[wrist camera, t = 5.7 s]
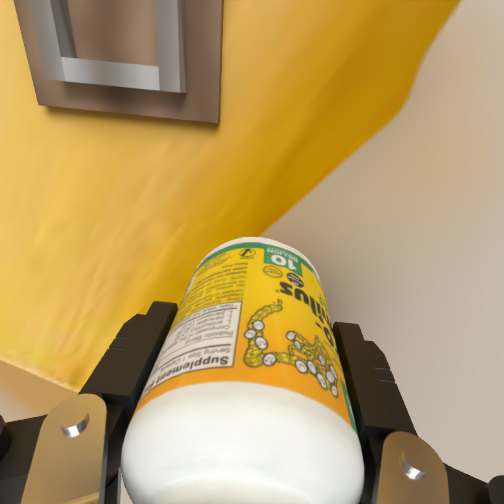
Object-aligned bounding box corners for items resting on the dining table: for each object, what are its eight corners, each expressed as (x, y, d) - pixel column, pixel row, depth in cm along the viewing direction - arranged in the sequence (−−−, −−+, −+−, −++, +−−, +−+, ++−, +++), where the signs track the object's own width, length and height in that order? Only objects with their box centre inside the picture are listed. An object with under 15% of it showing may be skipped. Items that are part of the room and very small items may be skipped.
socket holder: (227, -123, 18) (219, -159, 16) (219, 121, 25) (213, 125, 22) (-10, -144, 19) (-57, -183, 16) (46, 104, 25) (20, 106, 23)
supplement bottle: (169, 266, 12) (-65, 652, 4) (286, 208, 11) (324, 650, 2) (235, 350, 14) (179, 718, 6) (341, 312, 13) (467, 741, 4)
